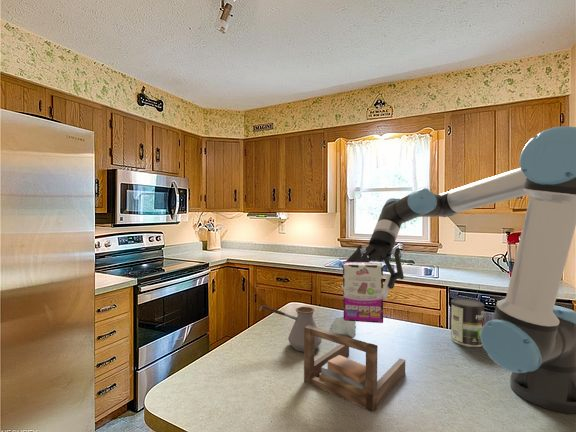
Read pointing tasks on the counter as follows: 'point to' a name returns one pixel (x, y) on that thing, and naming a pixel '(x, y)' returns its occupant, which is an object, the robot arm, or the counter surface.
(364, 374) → the offcut stack
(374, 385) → the offcut rack
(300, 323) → the coffee pot
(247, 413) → the counter surface
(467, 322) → the coffee can
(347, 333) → the stone slab
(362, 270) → the candy bar box
